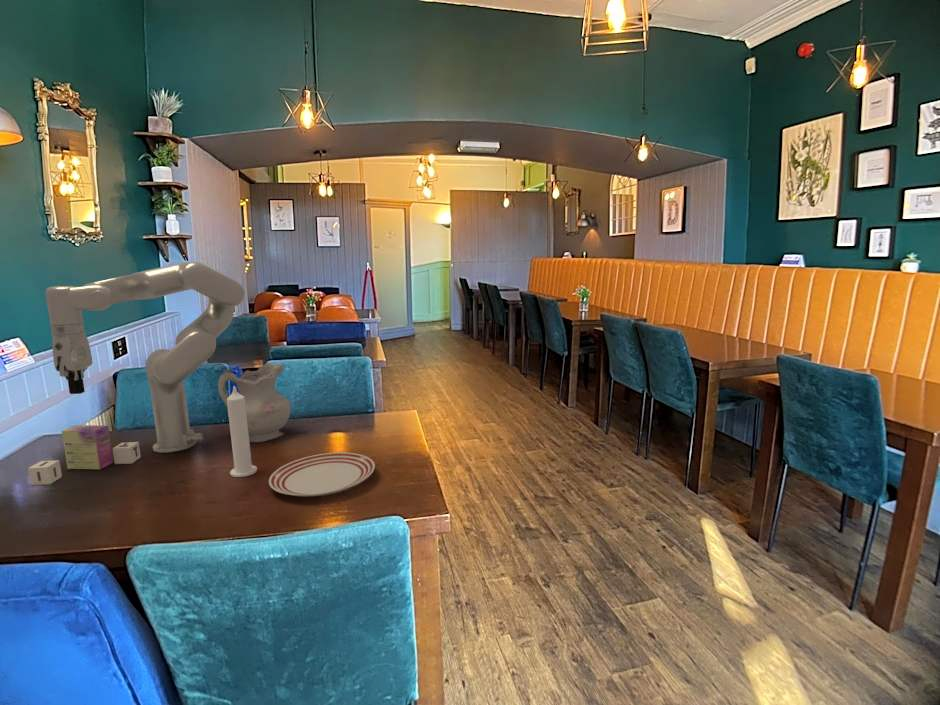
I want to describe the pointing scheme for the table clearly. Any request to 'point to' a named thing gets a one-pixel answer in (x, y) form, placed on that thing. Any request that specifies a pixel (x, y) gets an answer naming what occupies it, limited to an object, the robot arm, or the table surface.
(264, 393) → the ceramic pitcher
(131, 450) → the block seven
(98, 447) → the box
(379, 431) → the table surface
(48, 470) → the block one
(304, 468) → the dinner plate
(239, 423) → the candle
